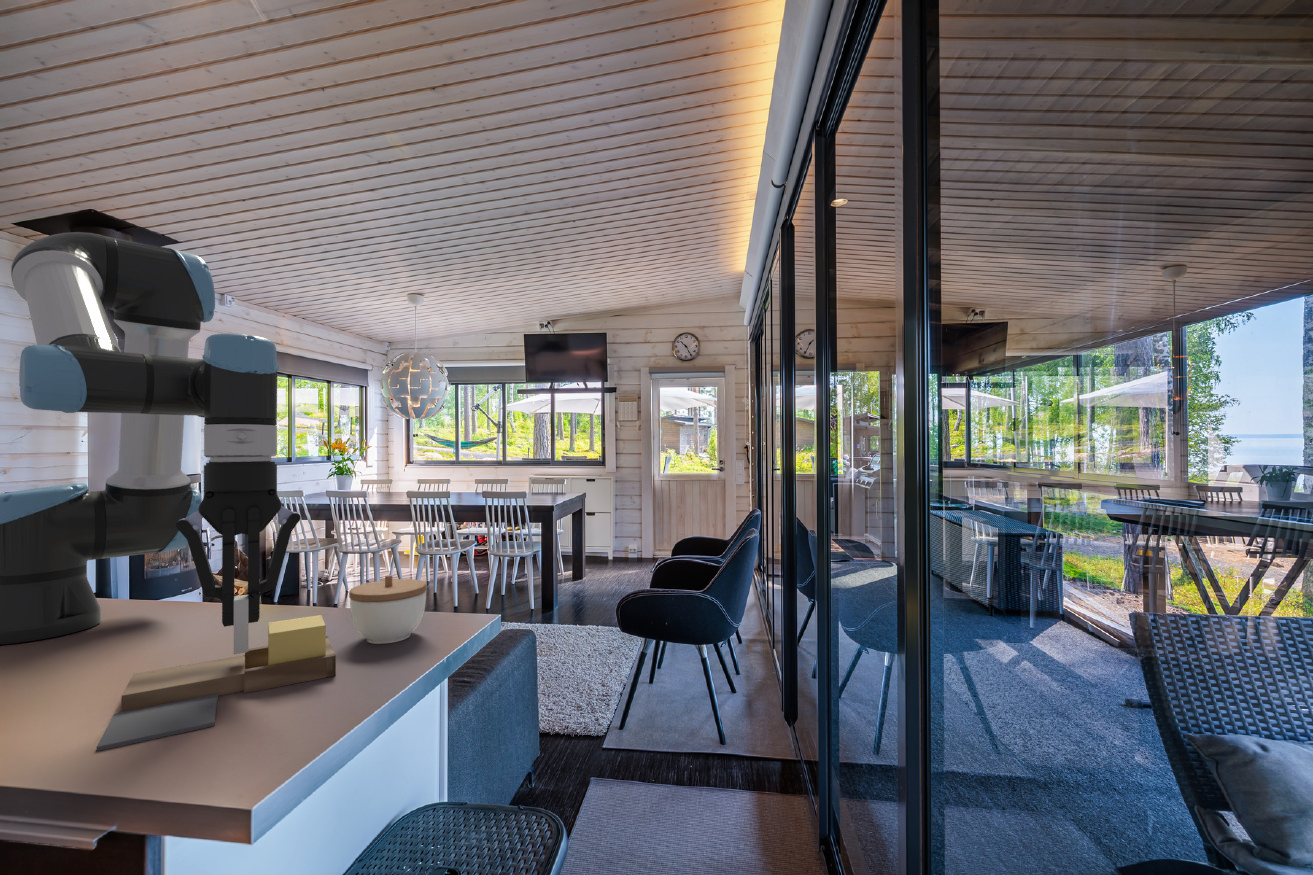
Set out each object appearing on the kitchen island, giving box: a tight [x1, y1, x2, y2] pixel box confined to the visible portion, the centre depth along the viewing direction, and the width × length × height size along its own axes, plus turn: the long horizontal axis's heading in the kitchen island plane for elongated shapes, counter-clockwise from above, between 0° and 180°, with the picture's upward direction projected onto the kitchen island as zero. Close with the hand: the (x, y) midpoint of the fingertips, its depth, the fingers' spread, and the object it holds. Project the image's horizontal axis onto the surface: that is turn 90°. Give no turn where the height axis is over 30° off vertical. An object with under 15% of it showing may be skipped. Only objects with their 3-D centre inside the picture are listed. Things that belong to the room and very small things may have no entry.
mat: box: [95, 694, 219, 752], centre depth 63 cm, size 9×9×1 cm
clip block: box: [267, 614, 327, 665], centre depth 77 cm, size 6×6×6 cm
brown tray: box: [120, 635, 337, 712], centre depth 74 cm, size 10×20×2 cm, turn 124°
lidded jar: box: [348, 574, 428, 645], centre depth 91 cm, size 11×11×9 cm
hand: (241, 650), depth 75 cm, fingers closed
